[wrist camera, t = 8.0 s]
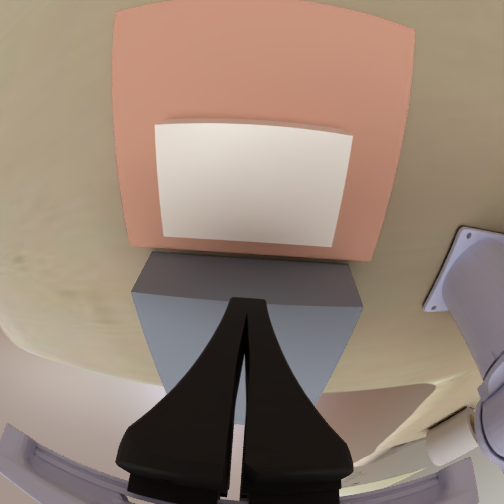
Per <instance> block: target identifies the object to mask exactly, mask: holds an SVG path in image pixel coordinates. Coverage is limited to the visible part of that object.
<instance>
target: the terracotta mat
mask: <svg viewBox="0 0 504 504" xmlns="http://www.w3.org/2000/svg"><path fill="white" fill-rule="evenodd" d="M414 44H415V30H413V29H411V28H408V27H405V26H403V25H400V24H397V23H394V22H391V21H388V20H385V19H382V18H379V17H376V16H372V15H369V14H365V13H362V12H358V11H354V10H350V9H345V8H341V7H336V6H331V5H326V4H320V3H314V2H308V1H301V0H174V1H167V2H160V3H154V4H149V5H144V6H139V7H134V8H130V9H125V10H121V11H117V12H115V20H114V34H113V54H112V100H113V122H114V137H115V148H116V159H117V168H118V176H119V184H120V191H121V198H122V204H123V211H124V217H125V222H126V228H127V233H128V238H129V243H130V246H138V247H153V248H168V249H183V250H198V251H214V252H229V253H245V254H260V255H276V256H291V257H307V258H323V259H339V260H355V261H371V260H372V257H373V254H374V250H375V247H376V244H377V241H378V238H379V235H380V231H381V228H382V225H383V221H384V218H385V214H386V210H387V207H388V203H389V199H390V195H391V191H392V187H393V183H394V179H395V175H396V171H397V166H398V161H399V157H400V152H401V147H402V142H403V136H404V131H405V125H406V119H407V112H408V105H409V98H410V90H411V81H412V72H413V60H414ZM179 118H235V119H257V120H272V121H283V122H294V123H303V124H311V125H319V126H326V127H333V128H339V129H343V130H344V131H346V132H348V133H349V134H351V135H352V136H353V140H352V146H351V152H350V158H349V164H348V170H347V175H346V181H345V186H344V191H343V196H342V201H341V206H340V211H339V216H338V221H337V225H336V230H335V234H334V238H333V243H332V247H321V246H307V245H292V244H277V243H262V242H246V241H230V240H214V239H197V238H180V237H164V235H163V227H162V219H161V209H160V199H159V189H158V176H157V162H156V145H155V124H158V123H160V122H162V121H164V120H167V119H179Z"/></svg>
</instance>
